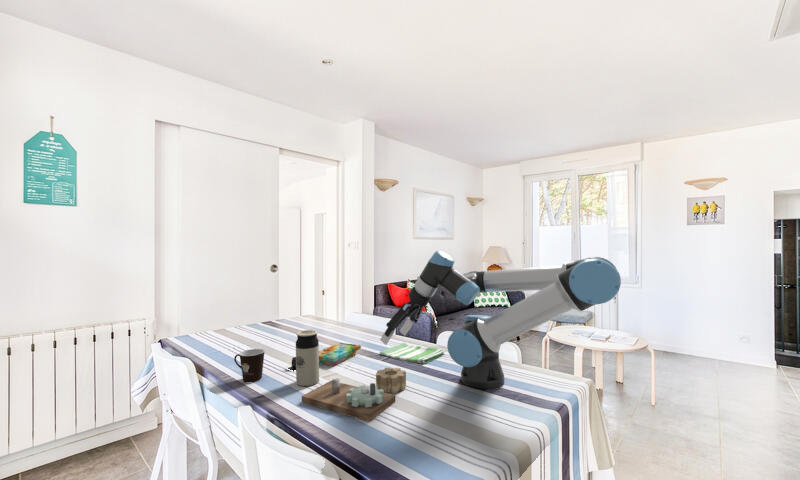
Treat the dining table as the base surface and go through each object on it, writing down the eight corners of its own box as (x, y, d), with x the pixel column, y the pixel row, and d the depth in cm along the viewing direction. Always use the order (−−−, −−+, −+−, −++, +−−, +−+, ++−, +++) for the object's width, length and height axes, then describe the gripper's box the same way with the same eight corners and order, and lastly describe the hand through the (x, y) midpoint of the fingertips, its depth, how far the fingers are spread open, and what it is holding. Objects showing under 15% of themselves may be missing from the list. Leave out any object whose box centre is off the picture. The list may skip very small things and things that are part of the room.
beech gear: (411, 384, 125) (410, 370, 125) (396, 395, 116) (396, 380, 116) (386, 379, 130) (386, 365, 130) (370, 389, 122) (370, 375, 122)
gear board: (395, 401, 112) (395, 382, 112) (370, 421, 100) (369, 400, 100) (331, 386, 125) (330, 369, 125) (301, 402, 113) (301, 383, 113)
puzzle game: (311, 352, 149) (339, 340, 167) (311, 364, 149) (339, 350, 167) (334, 356, 144) (360, 343, 162) (334, 368, 144) (361, 353, 162)
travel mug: (311, 376, 135) (311, 328, 135) (323, 382, 129) (322, 332, 129) (292, 382, 129) (291, 332, 129) (303, 388, 123) (302, 336, 124)
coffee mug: (269, 378, 133) (268, 351, 133) (246, 385, 127) (245, 357, 127) (254, 371, 141) (254, 346, 141) (232, 377, 135) (232, 351, 135)
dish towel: (403, 346, 173) (403, 340, 173) (445, 355, 159) (445, 348, 159) (379, 356, 159) (379, 349, 159) (423, 366, 145) (423, 359, 145)
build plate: (289, 374, 138) (289, 363, 138) (279, 370, 143) (279, 359, 143) (316, 366, 148) (316, 355, 148) (305, 362, 152) (305, 351, 152)
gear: (390, 395, 111) (390, 379, 111) (370, 410, 102) (369, 393, 102) (361, 388, 117) (360, 373, 117) (339, 402, 107) (338, 385, 107)
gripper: (429, 281, 137) (402, 323, 143) (396, 288, 115) (366, 338, 121) (444, 293, 134) (416, 336, 140) (413, 303, 112) (382, 353, 118)
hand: (393, 337), depth 130 cm, fingers open, 13 cm apart
